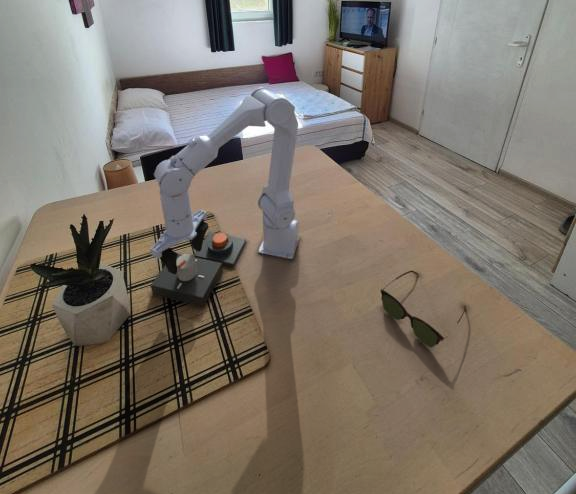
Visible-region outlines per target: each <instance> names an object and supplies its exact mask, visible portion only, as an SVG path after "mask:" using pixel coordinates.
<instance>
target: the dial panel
mask: <svg viewBox="0 0 576 494" xmlns="http://www.w3.org/2000/svg"><path fill="white" fill-rule="evenodd" d="M181 255H183V254H181V253H178V256H177V259H178V258H179V257H180V256H181ZM195 260H196V267H197V274H196V276H195V277H194V278H193V279H191V280H189V281H182V280H180V279H179V278H178V274H177V273H176V274H175V275H174V274H172V273H171V272H169V271H168V269H167V267H166V266H165V265H164V266H163V268H162V269H161V271H160V272H159V273H158V275H157V276H156V277H155V278H154V280H153V281H152V283H151V284H150V290H151V293H152V295H154V296H157V297H162V298H166V299H169V300H174V301H178V302H183V303H186V304H189V305H194V306H198V307H202V308H205V306H206V304H207V302H208V300H209V298H210V297H211V294H212V293H213V291H214V289H215V287H216V285H217V284H218V282H219V280H220V278H221V276H222V274H223V273H224V272H223V271H224V270H223V265H222V263H219V262H215V261H210V260H205V259H201V258H196V257H195Z"/></svg>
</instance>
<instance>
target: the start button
mask: <svg viewBox="0 0 576 494" xmlns="http://www.w3.org/2000/svg"><path fill="white" fill-rule="evenodd" d="M225 234H226V233H225ZM225 234H223V232H220V233H217V234H216V235H215V236H214V237H213V245H214V246H215V247H217V248H220V247H224V246H225V245H226V244H227V236H226V235H225Z"/></svg>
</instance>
